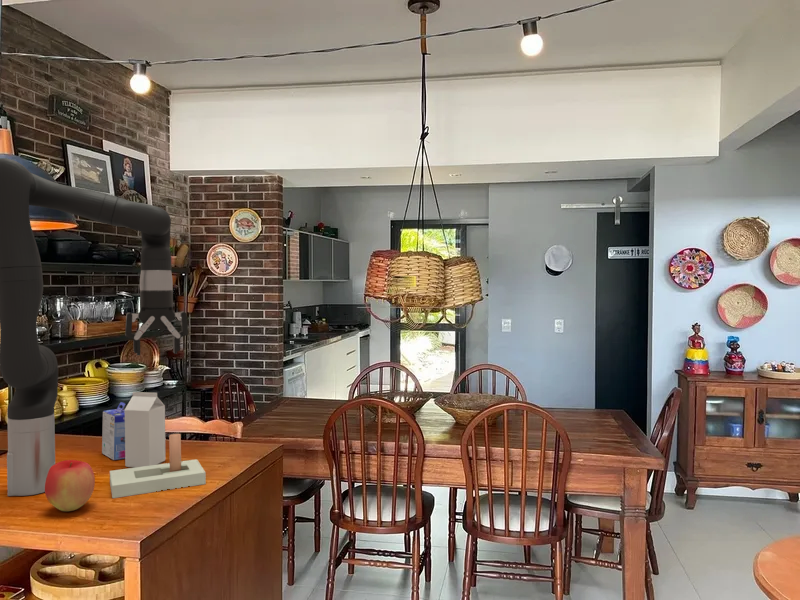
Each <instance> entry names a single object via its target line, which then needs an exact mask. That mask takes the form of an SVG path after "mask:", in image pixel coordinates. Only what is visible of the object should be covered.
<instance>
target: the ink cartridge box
mask: <svg viewBox="0 0 800 600" xmlns="http://www.w3.org/2000/svg"><path fill="white" fill-rule="evenodd" d="M126 404H127V403H125V402H122V401H120V403H119V404H118V406H117V408H116V409H107V410H103V411H102V434H101V435H102V436H101V438H102V439H101V441H102V442H101V454H103V455H105V456H106V457H107V458H110V459H111V460H112V461H117V460H118V461H119V460H123V459H124V460H125V408H126V406H127V405H126ZM121 406H122V407H121Z"/></svg>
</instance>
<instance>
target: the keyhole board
mask: <svg viewBox="0 0 800 600" xmlns="http://www.w3.org/2000/svg"><path fill="white" fill-rule="evenodd" d="M206 473H207V472H206V471H205V469H204V468H203V466H202V465H201V463H200V462H199V460H198V459H196V458H195V459H190V460H181V471H174V472H170V462H168V463H167V462H166V463H165V462H164V463H159V464H157V465H150V466H143V467H128V468H123V469H121V468H120V469H115V470H109V485H110V491H111V498H112V499H117V498H123V497H129V496H130V497H131V496H136V495H143V494H150V493H155V492H156V491H157V492H161V490H163V491H168V490H167V489H170V490H176V489H175V488H177V489H181V487H183V488H189V487H188V486H190V487H195V486H202V485H206V484H207V483H206V479H207V478H206V475H207V474H206Z"/></svg>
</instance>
